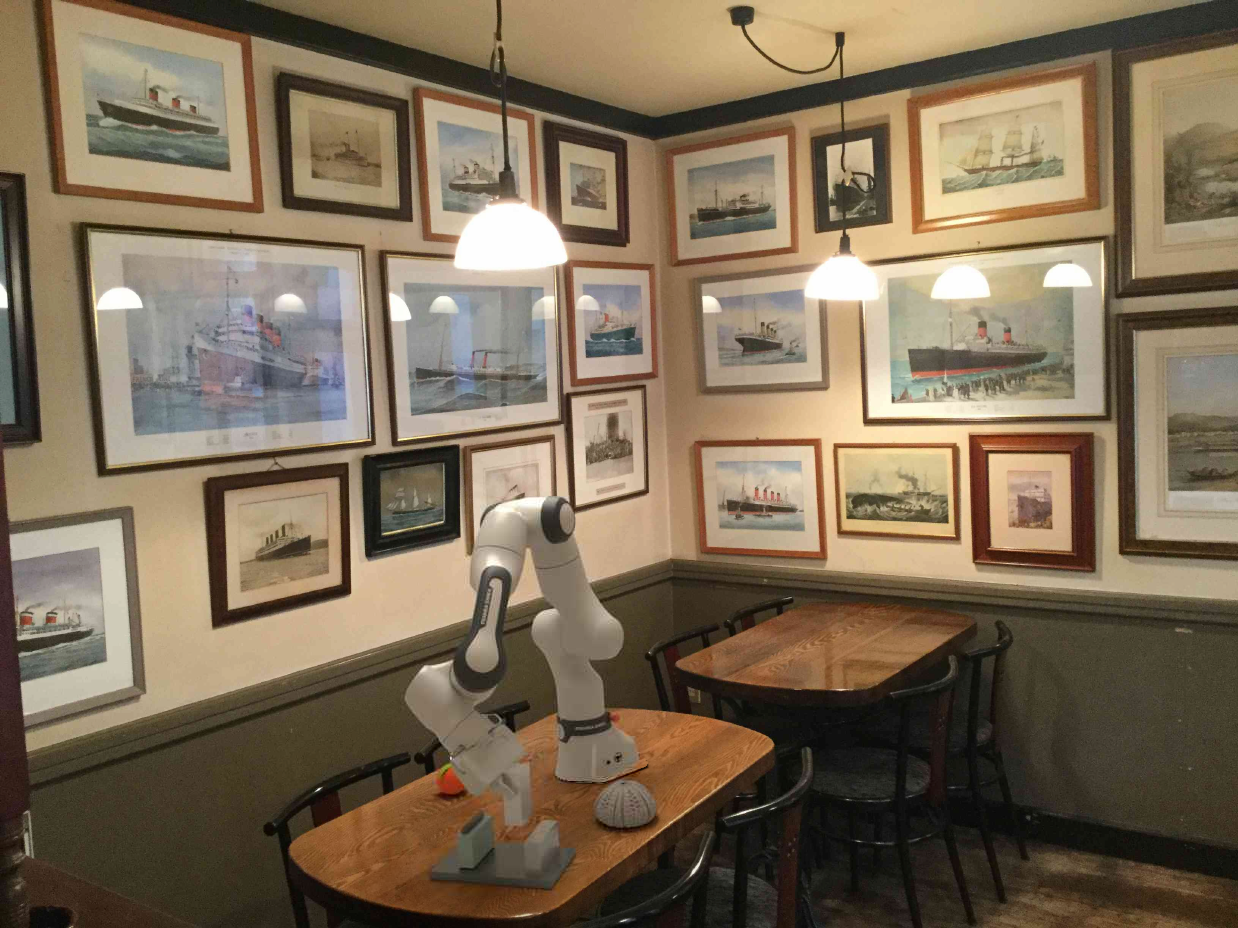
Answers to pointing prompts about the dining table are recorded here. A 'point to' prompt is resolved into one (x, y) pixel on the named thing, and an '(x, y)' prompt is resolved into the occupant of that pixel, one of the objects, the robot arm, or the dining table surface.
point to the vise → (514, 862)
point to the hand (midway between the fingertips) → (520, 791)
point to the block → (518, 794)
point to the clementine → (449, 780)
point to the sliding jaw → (475, 840)
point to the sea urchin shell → (625, 805)
